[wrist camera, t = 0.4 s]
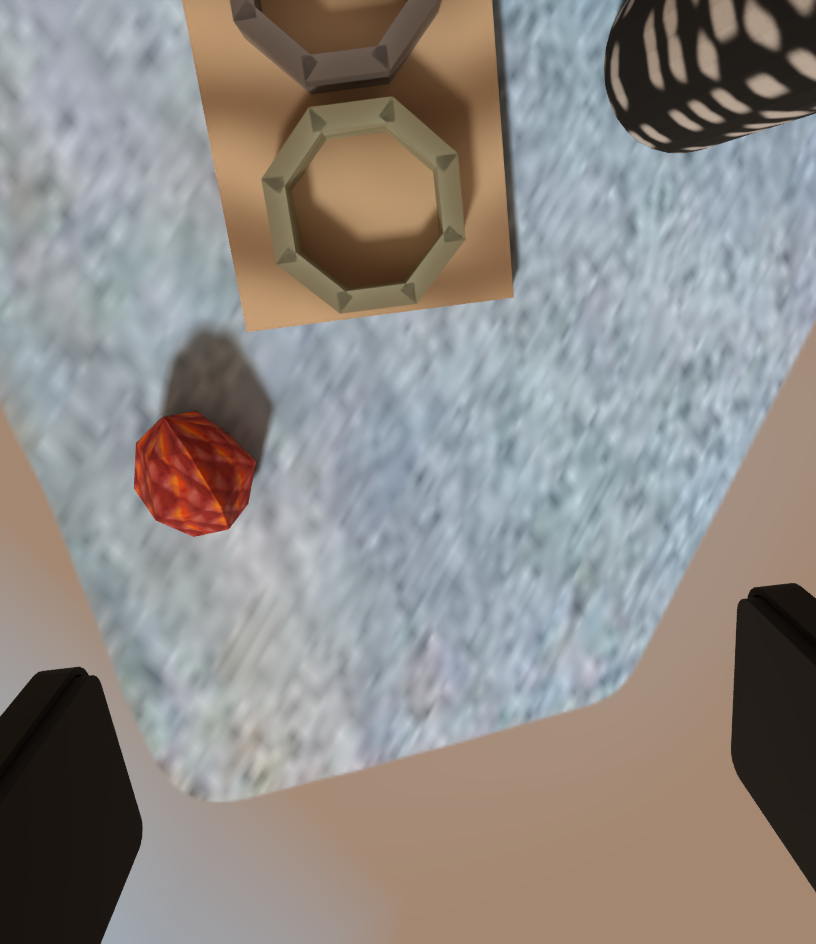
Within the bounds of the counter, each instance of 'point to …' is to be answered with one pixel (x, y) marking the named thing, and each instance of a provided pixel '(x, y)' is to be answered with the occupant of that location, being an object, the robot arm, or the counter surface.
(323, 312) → the socket board
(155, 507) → the decorative stone
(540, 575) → the counter surface
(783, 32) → the spotted tube
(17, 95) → the counter surface
